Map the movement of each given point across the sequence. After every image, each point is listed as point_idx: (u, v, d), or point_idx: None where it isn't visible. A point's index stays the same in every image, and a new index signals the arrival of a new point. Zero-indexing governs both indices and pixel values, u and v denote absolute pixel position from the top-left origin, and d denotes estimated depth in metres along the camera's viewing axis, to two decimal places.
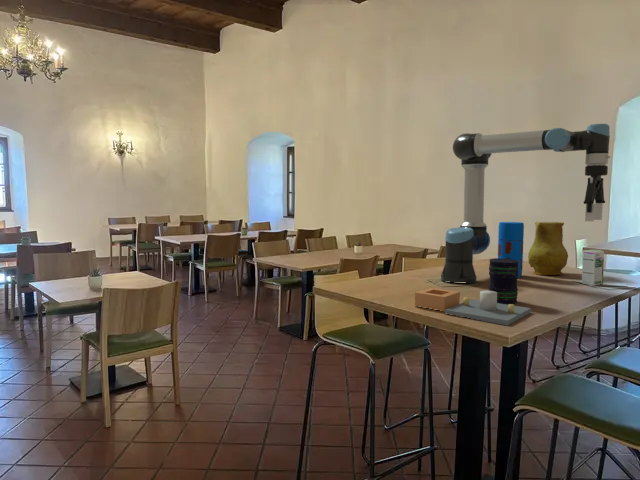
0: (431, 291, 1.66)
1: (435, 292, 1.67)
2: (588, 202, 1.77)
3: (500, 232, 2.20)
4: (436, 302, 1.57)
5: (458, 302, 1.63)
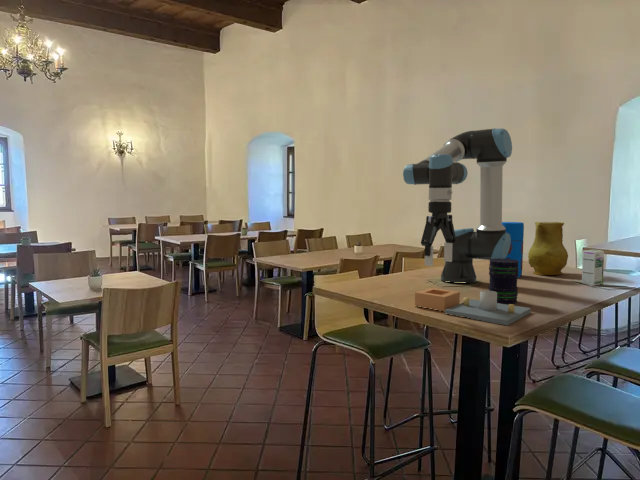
0: (431, 291, 1.66)
1: (435, 292, 1.67)
2: (425, 244, 1.54)
3: None
4: (436, 302, 1.57)
5: (458, 302, 1.63)
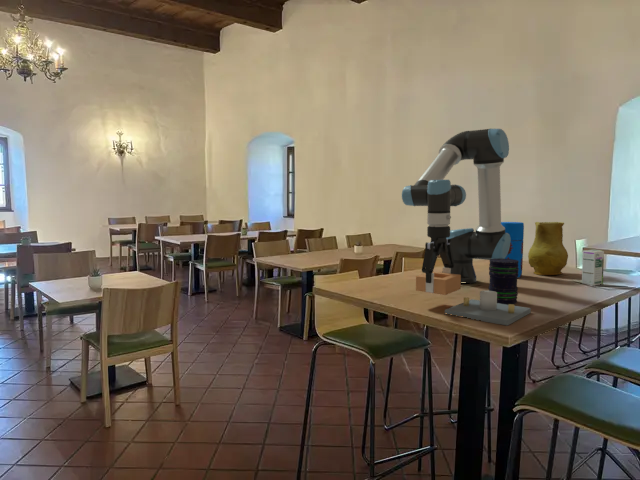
0: None
1: (436, 275, 1.67)
2: (425, 272, 1.56)
3: None
4: (437, 285, 1.57)
5: (459, 285, 1.63)
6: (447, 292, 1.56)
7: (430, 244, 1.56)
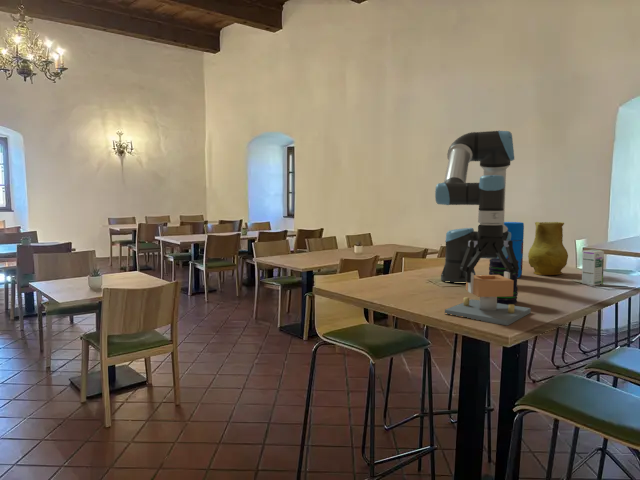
0: (490, 277, 1.55)
1: (495, 279, 1.55)
2: None
3: None
4: (475, 286, 1.49)
5: (510, 291, 1.47)
6: (482, 294, 1.47)
7: (469, 242, 1.50)
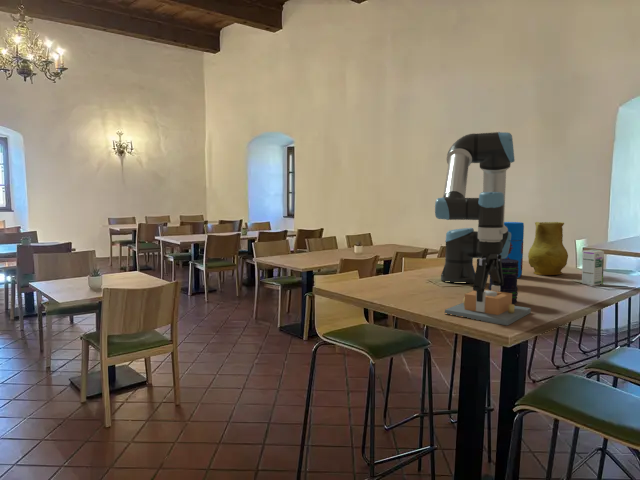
0: None
1: None
2: (477, 290, 1.46)
3: None
4: (489, 304, 1.47)
5: None
6: (500, 312, 1.46)
7: (482, 260, 1.46)
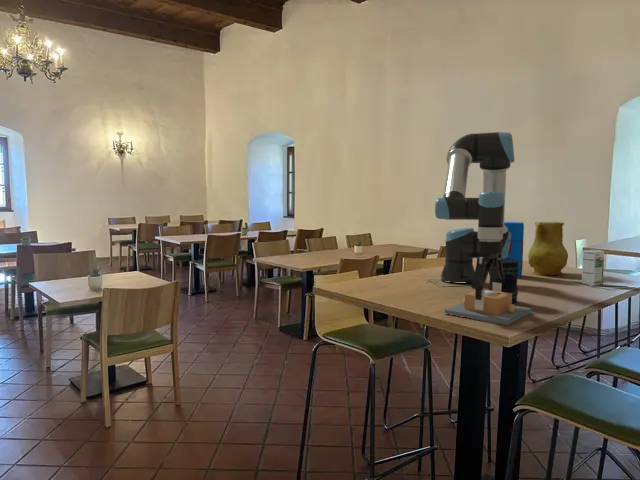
0: None
1: None
2: (476, 288, 1.45)
3: None
4: (489, 304, 1.47)
5: None
6: (500, 312, 1.46)
7: (482, 259, 1.46)
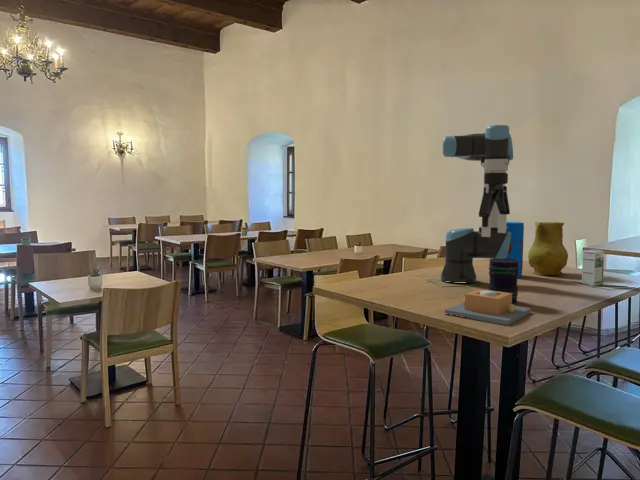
0: None
1: None
2: (483, 215, 1.55)
3: None
4: (489, 304, 1.47)
5: None
6: (500, 312, 1.46)
7: (489, 188, 1.55)
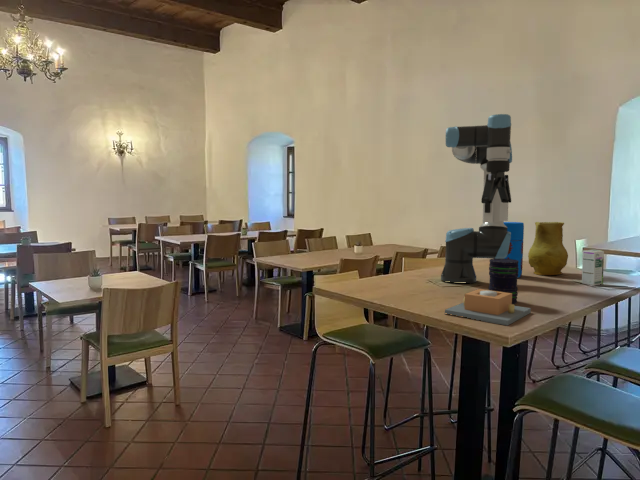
0: None
1: None
2: (485, 201, 1.59)
3: None
4: (489, 304, 1.47)
5: None
6: (500, 312, 1.46)
7: (491, 175, 1.59)
